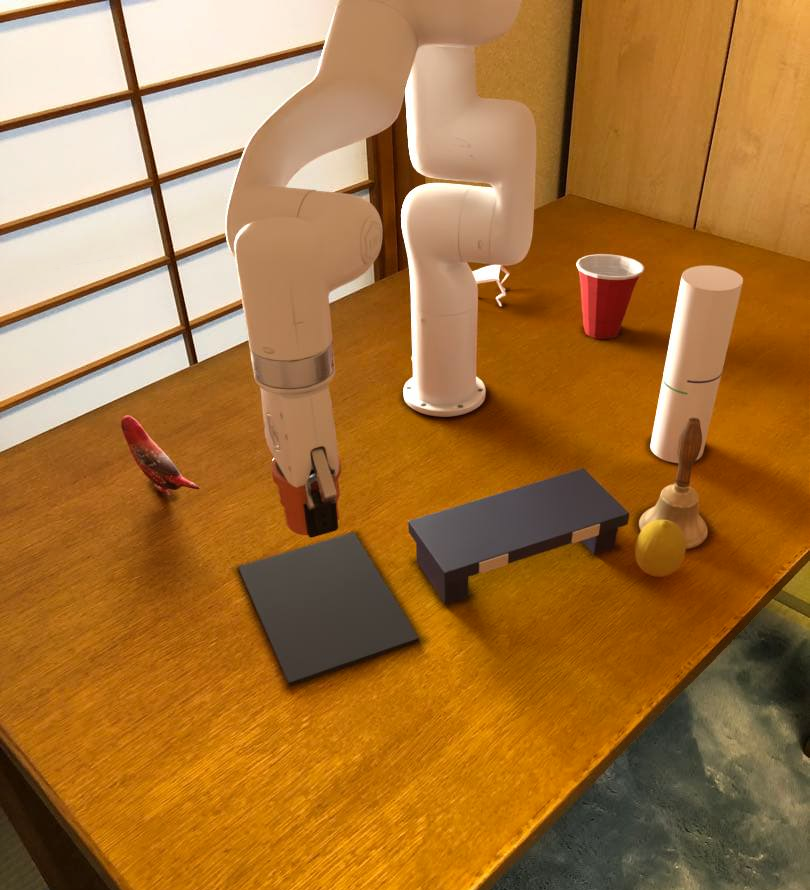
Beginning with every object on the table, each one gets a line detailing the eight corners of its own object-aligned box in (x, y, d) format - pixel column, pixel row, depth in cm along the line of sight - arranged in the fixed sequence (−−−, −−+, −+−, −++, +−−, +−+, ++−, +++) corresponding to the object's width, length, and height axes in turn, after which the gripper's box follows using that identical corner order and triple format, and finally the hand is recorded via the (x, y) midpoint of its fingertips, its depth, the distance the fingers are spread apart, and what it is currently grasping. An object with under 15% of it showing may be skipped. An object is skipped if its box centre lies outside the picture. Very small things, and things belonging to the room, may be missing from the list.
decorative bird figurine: (144, 466, 123) (127, 405, 116) (217, 521, 113) (203, 458, 107) (126, 475, 122) (108, 414, 115) (198, 532, 112) (183, 468, 105)
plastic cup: (644, 325, 150) (654, 257, 142) (619, 351, 143) (629, 282, 136) (585, 311, 155) (592, 244, 147) (559, 336, 148) (565, 268, 140)
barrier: (409, 558, 107) (407, 520, 103) (578, 505, 113) (583, 467, 110) (445, 612, 99) (445, 574, 96) (624, 552, 106) (631, 513, 102)
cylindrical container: (704, 465, 119) (745, 292, 103) (650, 460, 120) (682, 288, 104) (701, 436, 124) (740, 267, 108) (650, 432, 126) (680, 264, 109)
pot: (270, 509, 94) (262, 452, 89) (332, 492, 96) (326, 435, 91) (291, 547, 89) (282, 489, 84) (355, 528, 91) (350, 471, 86)
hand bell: (668, 558, 105) (693, 448, 95) (625, 520, 111) (643, 412, 100) (721, 536, 108) (751, 427, 98) (676, 500, 114) (699, 393, 103)
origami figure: (499, 315, 155) (500, 289, 151) (455, 307, 157) (455, 281, 154) (522, 288, 163) (524, 262, 159) (480, 281, 166) (481, 255, 162)
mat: (238, 570, 106) (237, 566, 106) (354, 535, 110) (353, 531, 110) (289, 686, 92) (288, 683, 92) (419, 641, 96) (419, 638, 96)
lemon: (669, 596, 100) (682, 544, 95) (623, 580, 103) (633, 527, 97) (685, 568, 104) (698, 516, 99) (640, 553, 106) (650, 501, 101)
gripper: (229, 329, 85) (254, 478, 97) (282, 414, 73) (304, 573, 85) (302, 314, 88) (318, 461, 99) (365, 394, 75) (375, 552, 87)
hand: (311, 512), depth 92 cm, fingers closed on pot, 6 cm apart
